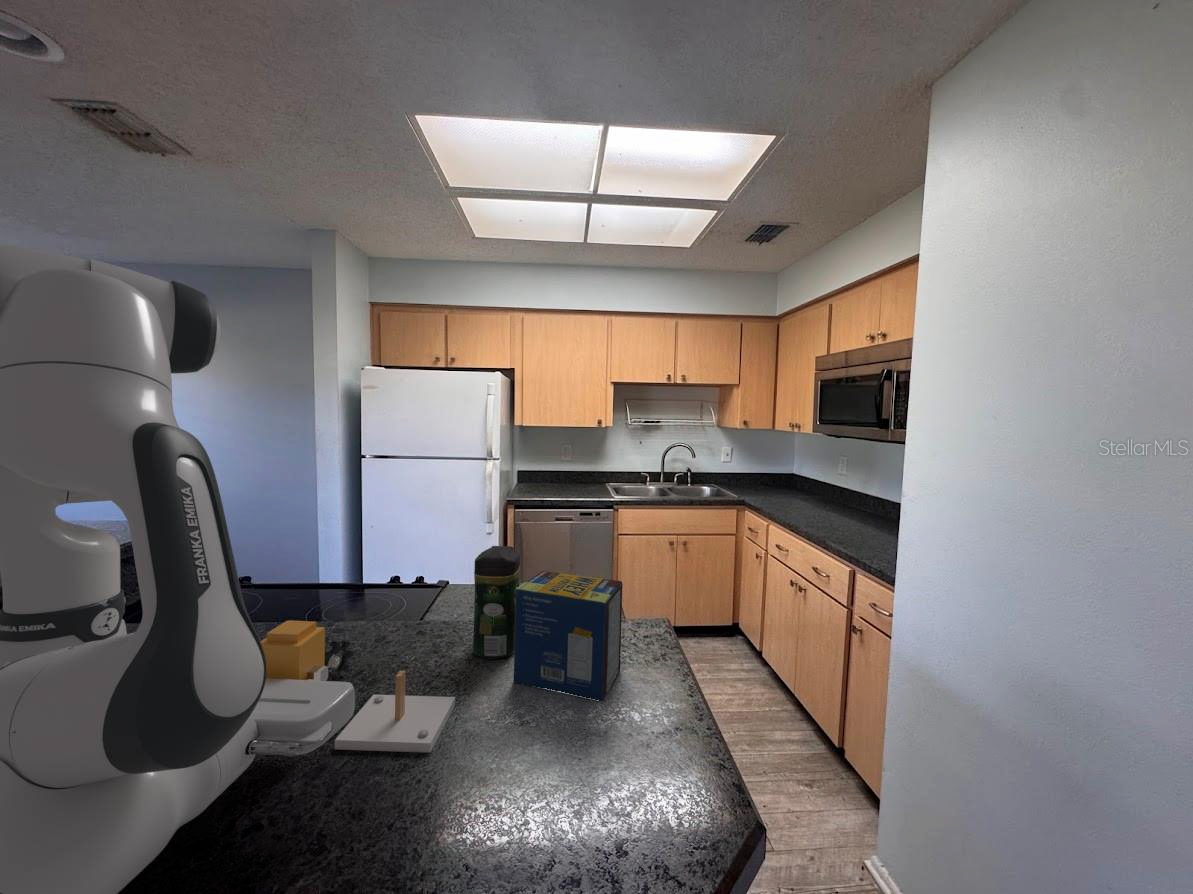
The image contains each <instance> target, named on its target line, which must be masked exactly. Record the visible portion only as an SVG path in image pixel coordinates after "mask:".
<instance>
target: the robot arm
mask: <svg viewBox="0 0 1193 894" xmlns="http://www.w3.org/2000/svg"><path fill="white" fill-rule="evenodd" d="M221 335H222V330H221V324H220V319H219V316H218V314H217V308H216V306H215V304H214V303H213V302H212V301H211V299H210V298H209V297H208V295H207V294H206V293H204V292H202V291H200V290H198V289H196V288H194V287H191V286H189V285H187V284H184V283H182V282H178V281H175V280H171V281H170V282H169V281H166V280H163V279H160V278H157V277H154V276H151V275H148V274H145V273H142V272H139V271H136V270H133V269H129V268H126V267H122V266H118V265H115V264H112V263H107V262H103V261H100V260H97V259H92V258H89V260H88V259H85V258H80V257H76V256H71V255H67V254H62V253H56V252H53V251H49V250H48V251H46V250H43V249H38V248H37V249H36V248H32V247H31V248H29V247H25V246H19V245H14V244H13V245H11V244H5V243H0V579H1V588H2V589H1V590H2V608H1V609H0V894H118V893H119V892H121V891H122V890H123V889H125V887H126V886H127V885H128V884H129V883H130V882H131V881H132V880H134V879H135V878H136V877H137V876H138V875H139V874H140V873H141V872H142V871H143V870H145V868H146V867H147V866H149V864H150V863H152V862H153V861H154V860H155V859H156V857H158V856H159V854H160V853H161V852H162V851H163V850H164V849H165V848H166V846H167V845H168V844H169V842H170V841H171V839H172V837H174V835H175V833H176V832H177V830H178V829H180V827H182V826H183V825H185V824H187V823H189V822H190V821H192V820H194V819H196V817H198V816H199V815H201V814H202V813H203V812H204V811H205V810H206V809H208V807H209V806H210V805H211V804H212V803H213V802H215V800H216V799H217V798H218V797H219V796H220V795H222V794H223V793H224V791H226V789H228V787H230V786H231V785H232V784H233V783H234V782H235V781H236V780H237V779H238V778H239V777H240V776H241V775H242V774H243V773H244V772H245V771H246V770H247V769H248V768H249V767H250V766H251V764H252V763H253V761H254V759H255V757H256V755H257V756H258V755H261V756H263V755H264V756H266V755H267V756H269V755H281V756H285V757H293V756H300V755H306V754H308V753H311V752H313V751H315V750H316V749H318V748H320V747H321V746H322V745H324V744H325V743H326V742H327V741H328V740H330V739H331V738H332V737H333V736H334V735H335V734H336V733H337V732H338V731H340V730H341V729H342V728H343V727H344V726H345V725H347V723H349V720H350V719H351V718H352V717H353V716H354V711H355V706H356V692H355V687H354V685H353V684H352V683H351V682H348V681H338V682H335V681H326V680H327V678H328V666H314V667H313V669H311V670H309V671H308V680H293V679H272V678H266V673H267V668H266V659H265V654H264V650H263V647H262V645H261V642H260V641H261V639H260V637H259V634H258V632H257V631H256V629H255V627H254V624H253V622H252V620H251V618H250V615H249V613H248V611H247V607H246V604H245V601H244V598H243V594H242V589H241V584H240V580H239V575H238V569H237V566H236V561H235V557H234V552H233V547H232V543H231V538H230V534H229V529H228V528H229V527H228V524H227V519H226V514H225V511H224V505H223V501H222V498H221V497H222V496H221V493H220V488H219V485H218V480H217V477H216V474H215V470H214V467H213V465H212V461H211V458H210V456H209V455H208V452H207V451H206V448H204V446H203V444H202V443H201V441H200V440H199V439H198V438H197V437H196V436H194V435H193V434H192V433H190V432H188V431H187V430H185V429H183V428H181V427H180V426H179V423H178V422H177V419H176V417H175V416H176V415H175V411H174V405H173V383H172V382H173V380H172V374H189V373H197V372H199V371H200V370H203V368H205V367H207V366H209V364H210V363H211V362H212V359H213V356H214V355H215V354H216V353H217V350H218V347H219V346H220V344H221V343H220V342H221V338H222V337H221ZM107 501H111V502H112V503H114V504H115V505H116V506H117V507H118V508H119V509H120V510H121V512H122V513H123V515H124V516H125V519H126V520H127V524H128V528H129V532H130V540H131V544H132V545H131V546H132V552H133V557H134V558H133V559H134V564H135V569H136V576H137V583H138V589H139V595H140V602H141V608H142V609H141V610H142V617H141V621H140V623H139V625H138V627H137V630H135V632H132V633H131V632H130V633H127V626H126V622H125V620H124V619H123V616H124V615H125V613H126V606H125V604H126V597H125V591H124V590H123V589H122V588H121V547H120V544H119V541H117V539H116V538H115V537H114V536H113V535H112V534H110V533H109V532H106V531H104V530H100V529H98V528H97V529H96V528H94V527H89V526H85V525H81V524H77V523H71V522H68V521H66V520H63V519H61V518H60V517H59V516H58V515H57V513H56V510H57V508H58V507H60V506H63V505H66V504H67V505H68V504H81V503H94V502H107Z"/></svg>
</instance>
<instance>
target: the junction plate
mask: <svg viewBox="0 0 1193 894" xmlns="http://www.w3.org/2000/svg"><path fill="white" fill-rule="evenodd" d="M394 685H395V690H394V691H395V693H394V694H373V695H371V697H370V698H369V699H368V700H367V702H366V703H365V704H364V705H363V706H362V707H361V708H360V709H359V711H358V712H357V713H356V714H355V716H353V718H352V719H351V720H350V721H349V722H348V724H346V726H345V727H344V729H343V730H342V731H341V732H340V733H339V734H338V735H337V737H336V738H335V739H334V750H340V751H341V750H345V751H371V752H372V751H375V752H404V753H405V752H406V753H431V752H432V750H433V749H434V747H435V745H436V743H437V741H438V739H439V737H440V736H441V733H442V732H443V729H444V728H445V725H446V724H447V722H448V720H449V718H450V715H451V714H452V712H453V710H454V708H455V707H456V697H455V696H435V695H434V696H431V695H430V696H427V695H425V696H424V695H406V670H399V671H398V673H397V674H396V675H395V684H394Z"/></svg>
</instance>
